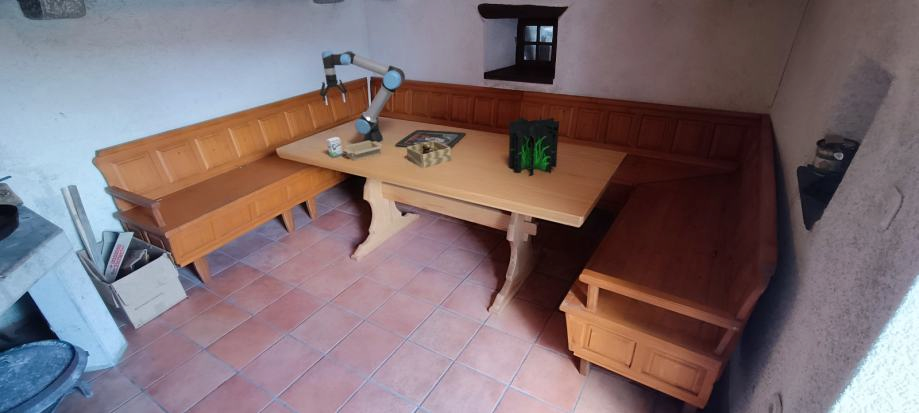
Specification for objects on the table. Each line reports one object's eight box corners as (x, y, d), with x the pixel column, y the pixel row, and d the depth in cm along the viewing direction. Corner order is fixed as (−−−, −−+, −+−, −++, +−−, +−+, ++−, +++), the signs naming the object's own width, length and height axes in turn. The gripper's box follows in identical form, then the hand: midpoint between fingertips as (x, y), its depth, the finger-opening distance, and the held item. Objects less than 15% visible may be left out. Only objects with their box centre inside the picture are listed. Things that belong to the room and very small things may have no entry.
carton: (373, 147, 324) (372, 139, 321) (387, 154, 307) (386, 146, 304) (340, 154, 310) (339, 147, 308) (352, 163, 294) (351, 155, 291)
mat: (338, 151, 318) (338, 150, 318) (344, 155, 309) (344, 154, 309) (327, 154, 313) (326, 153, 313) (332, 158, 304) (332, 157, 304)
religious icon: (450, 151, 308) (450, 147, 306) (395, 147, 322) (394, 144, 320) (467, 135, 342) (467, 131, 340) (416, 132, 356) (416, 129, 354)
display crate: (435, 152, 308) (434, 140, 303) (452, 160, 291) (451, 147, 287) (406, 159, 296) (405, 147, 292) (423, 168, 280) (421, 155, 276)
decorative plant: (564, 171, 265) (567, 124, 251) (520, 178, 258) (521, 130, 244) (543, 156, 290) (545, 113, 276) (502, 162, 283) (502, 118, 269)
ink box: (332, 156, 307) (329, 140, 301) (329, 154, 310) (326, 139, 304) (342, 153, 312) (340, 137, 307) (339, 151, 315) (336, 136, 310)
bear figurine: (441, 161, 291) (440, 144, 285) (419, 163, 289) (417, 146, 284) (439, 154, 303) (438, 138, 297) (418, 156, 301) (416, 140, 296)
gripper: (345, 71, 314) (349, 99, 324) (311, 75, 302) (317, 105, 312) (348, 72, 309) (353, 101, 318) (315, 77, 296) (320, 107, 306)
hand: (335, 103), depth 315 cm, fingers open, 13 cm apart
